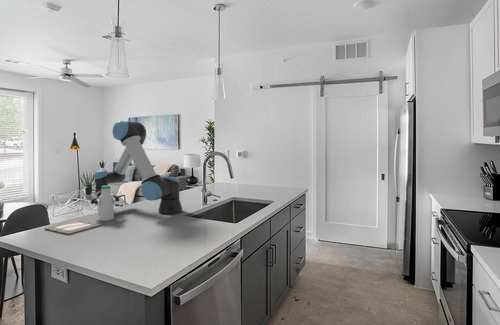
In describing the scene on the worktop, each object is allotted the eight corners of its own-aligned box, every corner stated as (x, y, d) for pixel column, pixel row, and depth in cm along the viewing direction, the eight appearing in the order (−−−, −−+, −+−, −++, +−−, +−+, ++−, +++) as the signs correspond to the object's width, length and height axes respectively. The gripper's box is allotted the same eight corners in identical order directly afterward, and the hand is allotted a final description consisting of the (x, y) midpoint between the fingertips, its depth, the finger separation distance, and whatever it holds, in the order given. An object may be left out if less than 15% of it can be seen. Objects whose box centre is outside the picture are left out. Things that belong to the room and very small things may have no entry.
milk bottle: (116, 218, 174) (115, 185, 172) (105, 221, 167) (104, 187, 165) (107, 217, 177) (106, 184, 176) (96, 220, 170) (95, 186, 169)
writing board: (101, 225, 159) (101, 224, 159) (68, 235, 143) (68, 233, 143) (78, 221, 168) (78, 219, 168) (44, 229, 152) (44, 228, 152)
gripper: (120, 200, 192) (126, 207, 172) (85, 203, 181) (86, 211, 162) (120, 189, 192) (125, 194, 172) (84, 191, 181) (86, 197, 161)
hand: (106, 202), depth 167 cm, fingers closed on milk bottle, 7 cm apart
